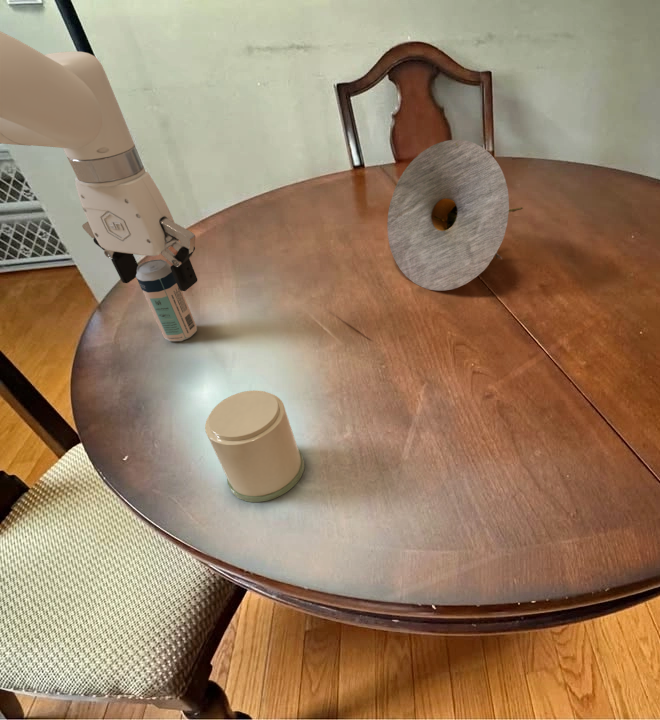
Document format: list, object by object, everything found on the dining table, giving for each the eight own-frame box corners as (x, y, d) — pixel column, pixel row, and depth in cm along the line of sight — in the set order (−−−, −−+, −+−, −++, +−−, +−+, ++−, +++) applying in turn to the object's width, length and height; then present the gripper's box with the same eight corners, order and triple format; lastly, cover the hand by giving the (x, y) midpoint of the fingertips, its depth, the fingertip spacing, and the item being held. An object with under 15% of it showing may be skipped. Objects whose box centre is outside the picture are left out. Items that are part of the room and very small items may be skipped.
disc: (523, 323, 99) (569, 191, 98) (467, 297, 84) (521, 142, 84) (423, 293, 113) (463, 178, 113) (361, 267, 99) (406, 134, 98)
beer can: (192, 322, 89) (164, 254, 81) (202, 335, 86) (174, 266, 78) (160, 334, 86) (129, 265, 79) (170, 347, 83) (138, 278, 76)
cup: (231, 512, 60) (202, 452, 54) (226, 458, 66) (199, 398, 60) (310, 487, 62) (290, 426, 56) (298, 437, 68) (279, 378, 62)
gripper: (27, 170, 69) (91, 288, 80) (144, 181, 65) (195, 303, 76) (75, 150, 74) (129, 263, 85) (186, 159, 71) (227, 276, 82)
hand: (160, 282), depth 81 cm, fingers open, 9 cm apart
